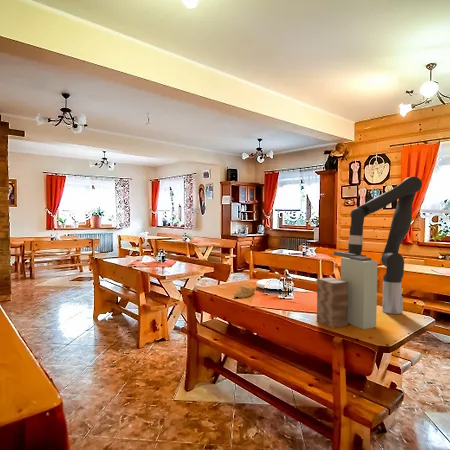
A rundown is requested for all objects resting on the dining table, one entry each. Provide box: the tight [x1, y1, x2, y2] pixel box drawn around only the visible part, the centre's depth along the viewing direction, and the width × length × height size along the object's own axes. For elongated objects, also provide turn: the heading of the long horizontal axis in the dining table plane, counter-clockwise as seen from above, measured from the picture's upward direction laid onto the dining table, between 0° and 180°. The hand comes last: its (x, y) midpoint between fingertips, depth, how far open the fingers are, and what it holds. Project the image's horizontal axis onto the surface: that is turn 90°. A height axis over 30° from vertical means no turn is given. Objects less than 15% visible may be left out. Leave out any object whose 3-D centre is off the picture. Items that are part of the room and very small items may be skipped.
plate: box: [256, 278, 295, 289], centre depth 240 cm, size 28×6×27 cm
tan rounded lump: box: [233, 284, 256, 298], centre depth 219 cm, size 21×10×8 cm, turn 140°
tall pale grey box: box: [340, 257, 378, 330], centre depth 165 cm, size 16×8×32 cm, turn 21°
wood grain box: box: [316, 276, 349, 329], centre depth 165 cm, size 12×9×22 cm
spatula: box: [333, 250, 372, 261], centre depth 170 cm, size 22×6×2 cm, turn 21°
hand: (353, 271), depth 189 cm, fingers open, 8 cm apart
